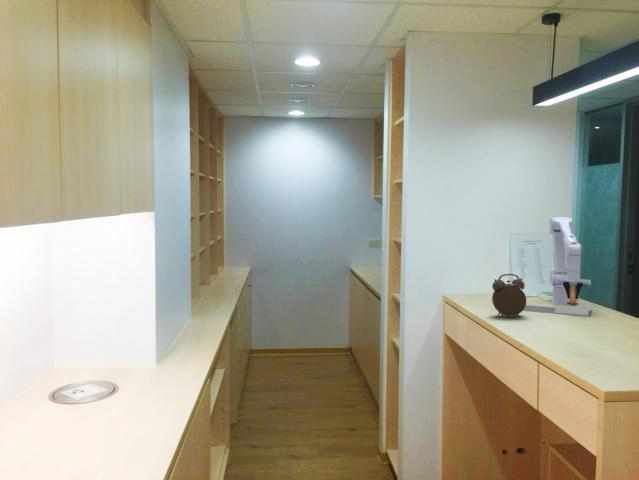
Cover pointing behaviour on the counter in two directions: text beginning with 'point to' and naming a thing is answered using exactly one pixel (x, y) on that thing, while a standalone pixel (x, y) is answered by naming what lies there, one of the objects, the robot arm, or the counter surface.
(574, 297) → the pin
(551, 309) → the rubber mat
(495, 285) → the alarm clock
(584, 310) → the hole block
